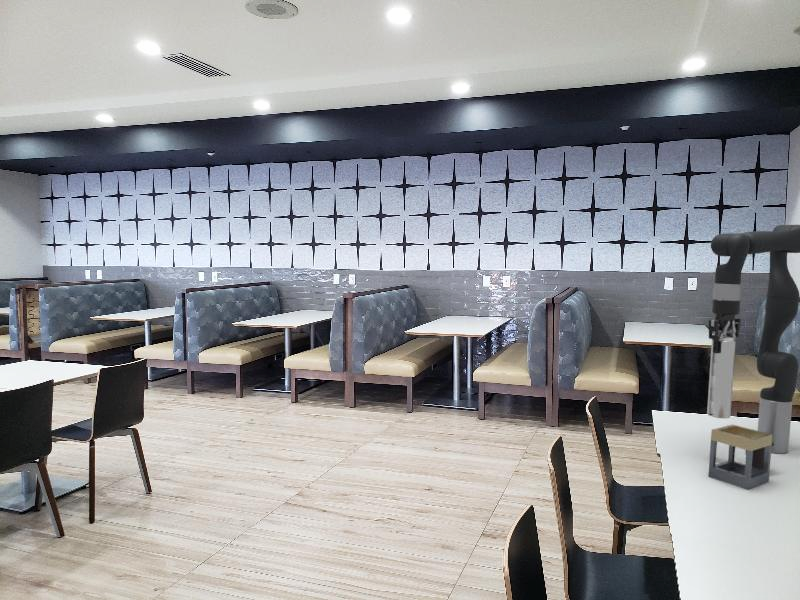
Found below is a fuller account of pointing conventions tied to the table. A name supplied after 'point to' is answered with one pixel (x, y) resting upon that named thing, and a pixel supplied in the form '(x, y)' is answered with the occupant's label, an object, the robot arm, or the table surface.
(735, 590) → the table surface
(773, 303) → the robot arm
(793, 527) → the table surface
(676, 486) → the table surface
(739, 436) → the collar stand
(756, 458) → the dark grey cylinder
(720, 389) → the silver metal cylinder
